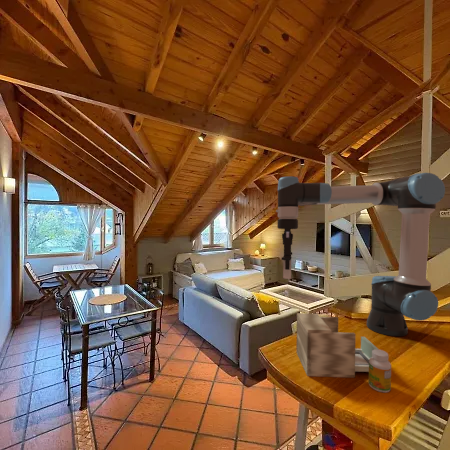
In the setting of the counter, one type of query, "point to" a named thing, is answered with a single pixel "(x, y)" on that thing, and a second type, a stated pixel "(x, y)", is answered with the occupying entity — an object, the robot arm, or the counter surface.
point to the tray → (363, 355)
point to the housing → (324, 347)
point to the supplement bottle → (380, 371)
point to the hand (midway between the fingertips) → (287, 274)
